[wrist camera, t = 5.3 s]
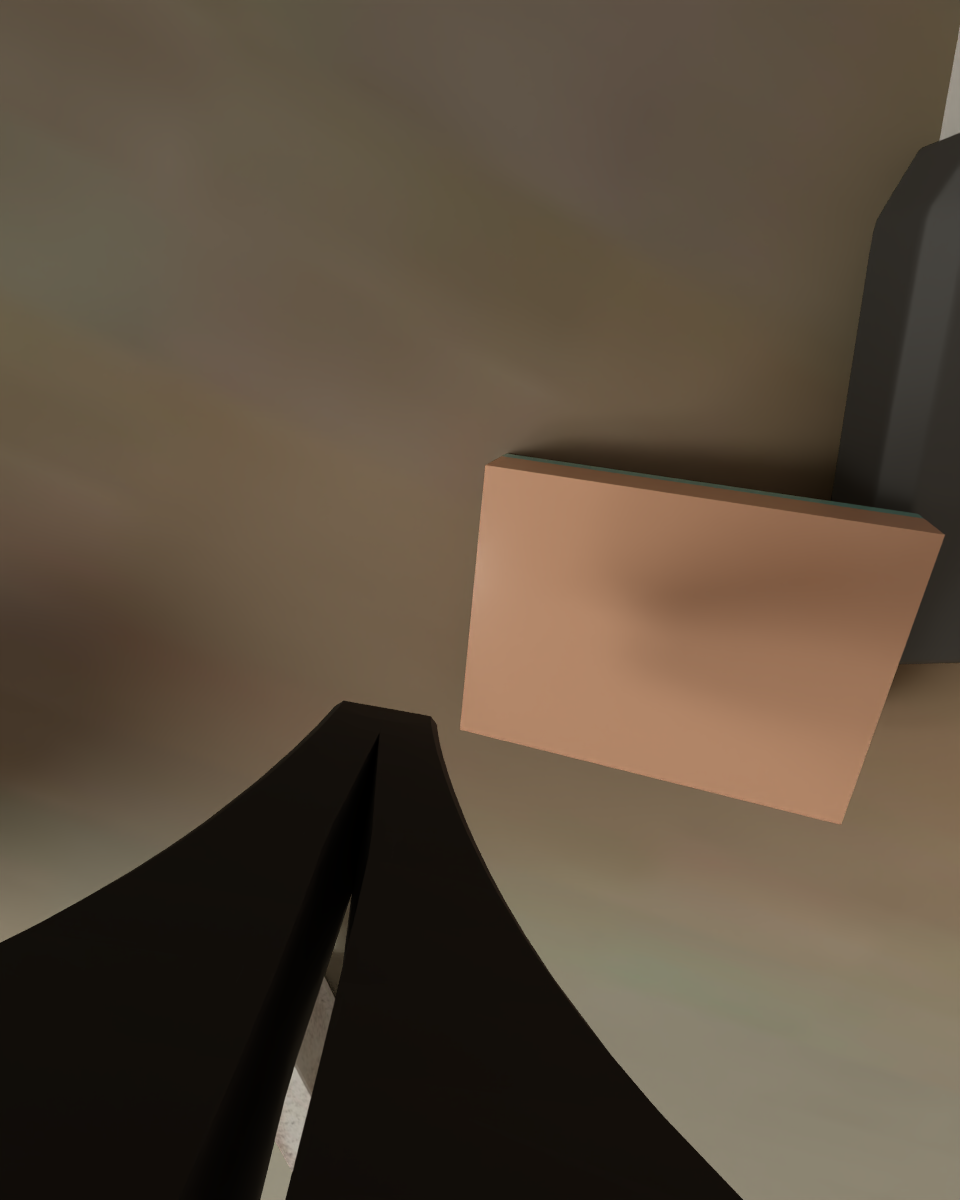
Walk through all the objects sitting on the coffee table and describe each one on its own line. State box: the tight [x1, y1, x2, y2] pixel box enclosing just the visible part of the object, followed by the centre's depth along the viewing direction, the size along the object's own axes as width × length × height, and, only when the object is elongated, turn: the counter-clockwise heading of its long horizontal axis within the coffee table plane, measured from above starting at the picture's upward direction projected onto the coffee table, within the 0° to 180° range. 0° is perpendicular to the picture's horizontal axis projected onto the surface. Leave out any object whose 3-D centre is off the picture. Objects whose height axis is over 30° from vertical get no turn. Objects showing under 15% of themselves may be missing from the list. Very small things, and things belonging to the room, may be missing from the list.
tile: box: [460, 454, 945, 825], centre depth 14 cm, size 2×6×8 cm
